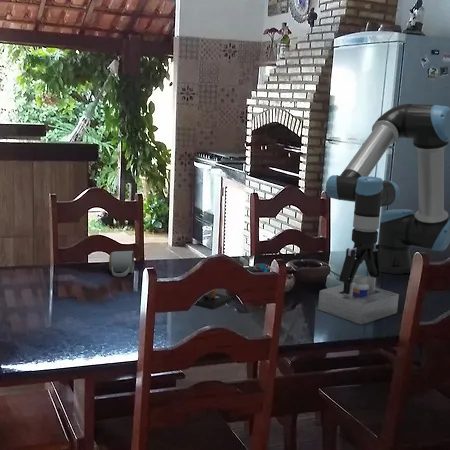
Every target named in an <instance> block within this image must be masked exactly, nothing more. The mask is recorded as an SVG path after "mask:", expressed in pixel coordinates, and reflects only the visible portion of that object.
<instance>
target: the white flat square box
mask: <svg viewBox="0 0 450 450" xmlns="http://www.w3.org/2000/svg"><path fill="white" fill-rule="evenodd" d="M353 282H354V281H352V283H353ZM343 289H344V283H343V284H340V285H335V286H332V287H328V288H323V289H321V290H319V294H318V308H317V310H318V311H322V312H324V313H327V314H330V315H333V316H335V317H339V318H341V319H345V320H347V321H349V322H353V323H355V324H359V325H362V326H363V325H365V324H367V323H372V322H374V321H377V320H380V319H384V318H387V317H389V316H392V315H395V314H398V306H399V299H400V297H399V296H400V294H399V293H396V292H393V291H391V290H390V291H389V290H387V289H384V288H381V287H377V286H375V292H374V294H372V295H368V296H365V297H361V298H358V299H356V298H353V297H350V296H347V295H343V294H344V293H343Z"/></svg>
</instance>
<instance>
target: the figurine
mask: <svg viewBox="0 0 450 450" xmlns="http://www.w3.org/2000/svg"><path fill="white" fill-rule="evenodd" d="M232 298H233V297H232V296H229V295H225V294H220V293H219V290H218V289H217V290H215V291H212V292H210V293H208V294H206V295H204V296H203V297H202V298H201V299H200V300H199V301H197V303H196V304H195V305H194V306H198V307H200V308H206V309H208V310H209V309H210V310H216V309H218V308H220V307H222V306H225V305H227V304H229V303H231V302H232Z"/></svg>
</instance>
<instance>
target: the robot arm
mask: <svg viewBox="0 0 450 450" xmlns="http://www.w3.org/2000/svg"><path fill="white" fill-rule="evenodd" d="M401 138H403V139H412V141H413V142H412V144H413V147H414V148H415V149H416V150H417V170H418V171H417V173H418V179H417V180H418V210H417V211H416V212H414V210H413V209H410V208H409V209H408V208H407V209H406V208H401V209H400V208H397V209H388V210H387V209H386V210H384V211H383V212H382V213H381V207H388V206H391V205H393V204H394V203H396V202H397V201H398V200H399V198H400V194H401V193H400V187H399V186H398V184H397V183H396V182H394V181H391V180H386V179H385V180H383V179H382V178H381V177H377V176H370V175H371V173H372V172H373V169H375V167H376V166H377V164H379V161H380V160H381V158H382V157H383V156H384V154H385V153H386V151H387V150H388V148H389V147H390V146H391V145H392V144H395V143H396V142H397V141H398V140H399V139H401ZM449 142H450V107H449V106H448V105H447V106H445V105H439V104H417V103H402V104H398V105H396V106H394V107H392V108H390V109H389V110H387V111H385V112H384V113H383V114H381V115H380V116H379V117H378V118H377V119H376V121H375V122H374V123H373V125H372V127H371V132H370V134H369V135H368V136H367V138H366V140H365V141H364V142H363V143H362V145H361V146H360V147H359V149H358V151H356V153H355V154H354V155H353V157H352V159H351V160H350V162H349V163H348V164H347V166H346V167H345V168H344V170H343V171H342V172H341V174H340V175H338V174H335V175H334V174H333V175H330V176H329V177H328V178H327V181H326V183H325V192H326V193H325V194H326V196H328V198H331V199H334V200H338V201H345V202H352V203H353V202H354V211H353V221H352V227H353V228H352V231H351V241H352V242H353V247H352V248H349V247H347V248H346V249H345V257H344V261H343V265H342V268H341V271H340V275H339V277H338V278H339V279H338V280H339V281H340V282H342V283H343V284H344V289H343V293H344V294H343V295H347V296H350V297H352V296H353V285H354V284H353V283H352V282H354V276H355V275H357V271H358V269H359V267H360V265H362V264H363V261H364V263H365V266H366V268H367V272H368V275H367V276H366V277H367V282H366V283H367V284H368V285H369V292H368V295H372V294H374V292H375V287H376V283H377V278H378V279H379V278H381V275H382V273H386V274H390V275H391V274H394V275H404V274H403V273H407V274H409V273H408V272H410V268H411V263H412V259H411V253H410V247H416V248H421V249H425V250H426V249H427V250H431V251H439V252H442V251H445V250H446V249H447V248H448V246H449V245H450V219H449V212H448V211H447V210H445V186H444V185H445V167H444V166H445V149H446V147H448V146H449ZM378 230H379V232H378ZM377 243H378V244H377ZM412 264H413V263H412Z"/></svg>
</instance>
